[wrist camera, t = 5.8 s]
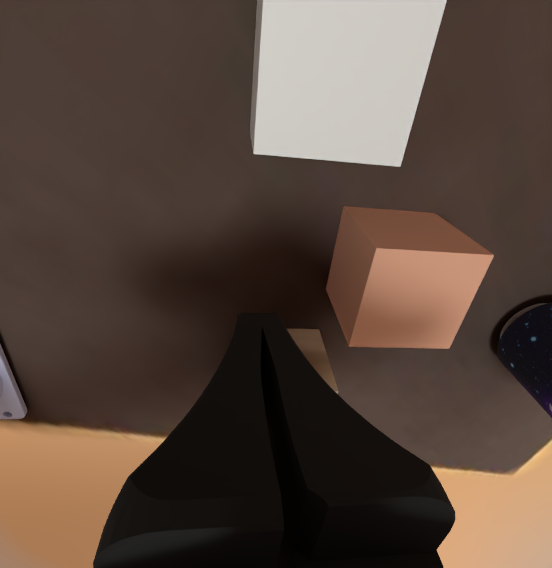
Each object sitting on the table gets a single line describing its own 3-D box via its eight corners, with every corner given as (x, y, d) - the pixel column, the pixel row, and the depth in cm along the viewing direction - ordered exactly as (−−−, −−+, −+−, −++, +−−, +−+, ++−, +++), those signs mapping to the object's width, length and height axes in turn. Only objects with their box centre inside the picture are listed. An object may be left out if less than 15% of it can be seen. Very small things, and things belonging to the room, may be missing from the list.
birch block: (235, 384, 23) (234, 452, 19) (238, 326, 21) (238, 391, 17) (307, 384, 24) (321, 450, 20) (318, 328, 22) (338, 391, 17)
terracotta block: (325, 288, 20) (348, 346, 16) (343, 205, 17) (376, 248, 13) (406, 292, 21) (448, 348, 16) (434, 212, 18) (494, 255, 14)
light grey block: (249, 131, 15) (253, 153, 11) (257, -14, 13) (266, -59, 8) (357, 142, 16) (400, 166, 12) (386, 5, 13) (454, -28, 9)
